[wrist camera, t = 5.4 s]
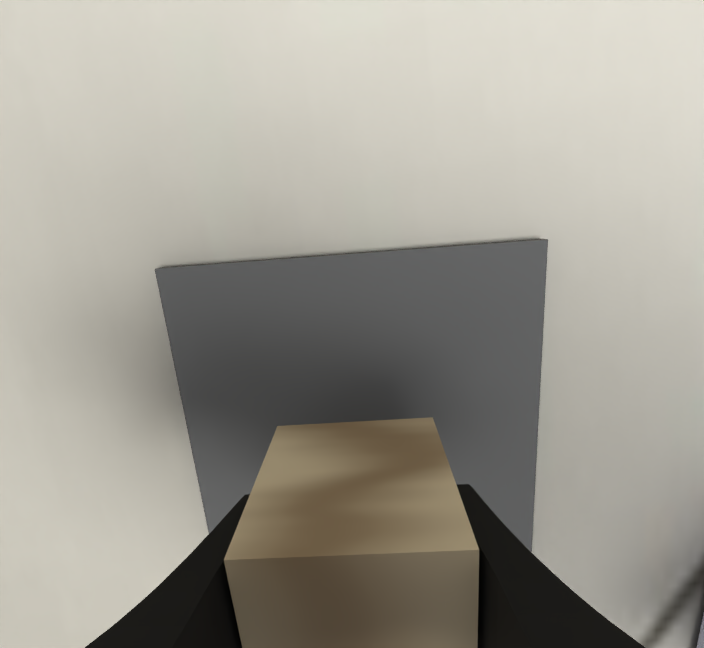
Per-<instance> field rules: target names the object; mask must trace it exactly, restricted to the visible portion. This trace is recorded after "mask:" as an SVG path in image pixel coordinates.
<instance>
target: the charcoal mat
mask: <svg viewBox="0 0 704 648" xmlns="http://www.w3.org/2000/svg"><path fill="white" fill-rule="evenodd" d="M547 247H548V240H547V239H535V240H522V241H509V242H495V243H482V244H469V245H455V246H442V247H428V248H415V249H402V250H388V251H375V252H362V253H348V254H335V255H322V256H308V257H295V258H281V259H268V260H255V261H241V262H228V263H215V264H201V265H188V266H174V267H162V268H157V269H155V273H156V278H157V283H158V287H159V292H160V297H161V302H162V307H163V312H164V317H165V321H166V326H167V331H168V336H169V341H170V346H171V351H172V356H173V360H174V365H175V370H176V375H177V380H178V385H179V390H180V395H181V399H182V404H183V409H184V414H185V419H186V424H187V429H188V434H189V438H190V443H191V448H192V453H193V458H194V463H195V468H196V473H197V477H198V482H199V487H200V492H201V497H202V502H203V507H204V512H205V516H206V521H207V526H208V531H209V534H210V533H211V531H212V530H213V529H214V528H215V527H216V526H217V525H218V524H219V523H220V521H221V520H222V519H223V518H224V517H225V516H226V515H227V514H228V512H229V511H230V510H231V509H232V508H233V507H234V506H235V505H236V504H237V502H238V501H239V500H240V499H241V498H242V497H243V496H244V495H246V494H250V493H251V491H252V488H253V486H254V483H255V481H256V478H257V476H258V473H259V471H260V468H261V466H262V463H263V461H264V458H265V456H266V453H267V451H268V448H269V446H270V443H271V441H272V438H273V436H274V433H275V431H276V428H277V426H286V425H304V424H322V423H340V422H358V421H376V420H394V419H412V418H430V417H433V420H434V423H435V425H436V428H437V431H438V434H439V437H440V440H441V442H442V445H443V448H444V451H445V454H446V457H447V460H448V462H449V465H450V468H451V471H452V474H453V477H454V479H455V482H456V485H457V484H469V485H471V486H472V487H473V488H474V490H475V491H476V492H477V493H478V494H479V496H480V497H481V498H482V499H483V500H484V502H485V503H486V504H487V505H488V506H489V507H490V509H491V510H492V511H493V512H494V513H495V514H496V515H497V517H498V518H499V519H500V520H501V521H502V522H503V523H504V524H505V525H506V527H507V528H508V529H509V530H510V531H511V532H512V533H513V534H514V535H515V536H516V537H517V538H518V539H519V540H520V541H521V542H522V543H523V544H524V545H525V547H526V548H527V549H528V550H529V551H530V552H532V533H533V514H534V495H535V476H536V457H537V438H538V419H539V400H540V380H541V361H542V342H543V323H544V304H545V285H546V266H547Z"/></svg>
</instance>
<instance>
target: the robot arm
mask: <svg viewBox="0 0 704 648" xmlns="http://www.w3.org/2000/svg"><path fill="white" fill-rule="evenodd" d="M457 488H458V491H459V494H460V496H461V499H462V502H463V505H464V508H465V511H466V514H467V516H468V519H469V522H470V525H471V528H472V531H473V533H474V536H475V539H476V542H477V545H478V548H479V592H478V648H645V647H644V646H642V645H641V644H640V643H638V642H637V641H636V640H634V639H633V638H632V637H630V636H629V635H627V634H626V633H625V632H623V631H622V630H621V629H619V628H618V627H617V626H615V625H614V624H613V623H611V622H610V621H609V620H607V619H606V618H605V617H604V616H602V615H601V614H600V613H598V612H597V611H596V610H595V609H593V608H592V607H591V606H590V605H589V604H588V603H586V602H585V601H584V600H583V599H582V598H580V597H579V596H578V595H577V594H576V593H574V592H573V591H572V590H571V589H570V588H569V587H568V586H566V585H565V584H564V583H563V582H562V581H561V580H560V579H559V578H558V577H557V576H555V575H554V574H553V573H552V572H551V571H550V570H549V569H548V568H547V567H546V566H545V565H544V564H543V563H542V562H541V561H540V560H539V559H537V558H536V557H535V556H534V555H533V554H532V553H531V552H530V551H529V550H528V549H527V548H526V547H525V545H524V544H523V543H522V542H521V541H520V540H519V539H518V538H517V537H516V536H515V535H514V534H513V533H512V532H511V531H510V530H509V529H508V528H507V527H506V525H505V524H504V523H503V522H502V521H501V520H500V519H499V518H498V517H497V515H496V514H495V513H494V512H493V511H492V510H491V509H490V507H489V506H488V505H487V504H486V503H485V502H484V500H483V499H482V498H481V497H480V496H479V494H478V493H477V492H476V491H475V490H474V488H473V487H472V486H471V485H469V484H457ZM249 496H250V494H246V495H244V496H243V497H242V498H241V499H240V500H239V501H238V502H237V504H236V505H235V506H234V507H233V508H232V509H231V510H230V511H229V512H228V514H227V515H226V516H225V517H224V518H223V519H222V520H221V521H220V523H219V524H218V525H217V526H216V527H215V528H214V529H213V530H212V531H211V533H210V534H209V535H208V536H207V537H206V538H205V539H204V540H203V541H202V542H201V543H200V544H199V545H198V546H197V548H196V549H195V550H194V551H193V552H192V553H191V554H190V555H189V556H188V557H187V558H186V559H185V560H184V561H183V562H182V563H181V564H180V565H179V566H178V567H177V568H176V569H175V570H174V571H173V572H172V573H171V574H170V575H169V576H168V577H167V578H166V579H165V580H164V581H163V582H162V583H161V584H160V585H159V586H158V587H157V588H156V589H155V590H153V591H152V592H151V593H150V594H149V595H148V596H147V597H146V598H145V599H144V600H142V601H141V602H140V603H139V604H138V605H137V606H136V607H134V608H133V609H132V610H131V611H130V612H129V613H127V614H126V615H125V616H124V617H123V618H122V619H120V620H119V621H118V622H117V623H116V624H114V625H113V626H112V627H111V628H110V629H108V630H107V631H106V632H104V633H103V634H102V635H101V636H99V637H98V638H97V639H95V640H94V641H93V642H92V643H90V644H89V645H88V646H86V647H85V648H242V644H241V639H240V635H239V630H238V625H237V620H236V616H235V611H234V606H233V602H232V597H231V592H230V587H229V583H228V578H227V573H226V568H225V564H224V558H225V556H226V553H227V551H228V548H229V546H230V543H231V541H232V538H233V536H234V533H235V531H236V528H237V526H238V523H239V521H240V518H241V516H242V513H243V511H244V508H245V506H246V503H247V501H248V498H249ZM697 648H704V614H703V619H702V624H701V629H700V634H699V639H698V644H697Z"/></svg>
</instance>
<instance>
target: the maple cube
mask: <svg viewBox="0 0 704 648" xmlns="http://www.w3.org/2000/svg"><path fill="white" fill-rule="evenodd" d="M224 564H225V568H226V573H227V578H228V583H229V587H230V592H231V597H232V602H233V606H234V611H235V616H236V620H237V625H238V630H239V635H240V639H241V644H242V648H478V592H479V548H478V545H477V542H476V539H475V536H474V533H473V531H472V528H471V525H470V522H469V519H468V516H467V514H466V511H465V508H464V505H463V502H462V499H461V496H460V494H459V491H458V488H457V485H456V482H455V479H454V477H453V474H452V471H451V468H450V465H449V462H448V460H447V457H446V454H445V451H444V448H443V445H442V442H441V440H440V437H439V434H438V431H437V428H436V425H435V423H434V420H433V417H430V418H412V419H394V420H376V421H358V422H340V423H322V424H304V425H286V426H277V428H276V431H275V433H274V436H273V438H272V441H271V443H270V446H269V448H268V451H267V453H266V456H265V458H264V461H263V463H262V466H261V468H260V471H259V473H258V476H257V478H256V481H255V483H254V486H253V488H252V491H251V493H250V496H249V498H248V501H247V503H246V506H245V508H244V511H243V513H242V516H241V518H240V521H239V523H238V526H237V528H236V531H235V533H234V536H233V538H232V541H231V543H230V546H229V548H228V551H227V553H226V556H225V558H224Z"/></svg>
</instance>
